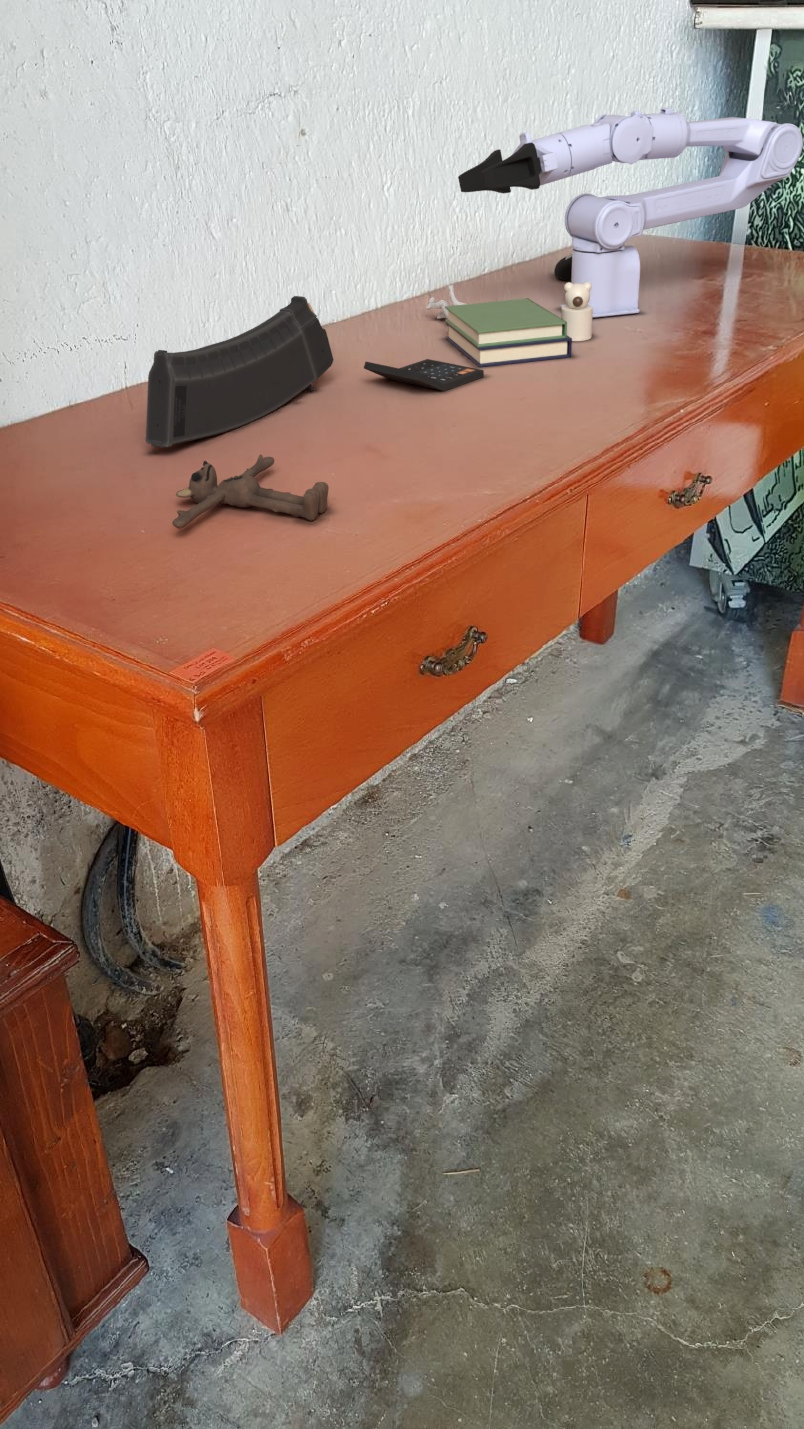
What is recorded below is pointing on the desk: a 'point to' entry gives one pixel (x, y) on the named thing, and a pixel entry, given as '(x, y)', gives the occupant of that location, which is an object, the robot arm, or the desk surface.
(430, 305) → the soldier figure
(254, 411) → the magazine
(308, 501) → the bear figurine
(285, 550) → the desk surface
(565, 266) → the computer mouse
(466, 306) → the book stack
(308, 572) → the desk surface
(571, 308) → the toy bear
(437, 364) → the calculator
